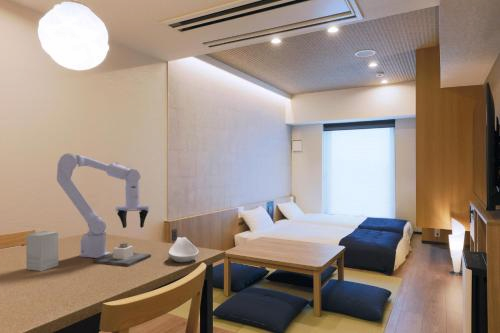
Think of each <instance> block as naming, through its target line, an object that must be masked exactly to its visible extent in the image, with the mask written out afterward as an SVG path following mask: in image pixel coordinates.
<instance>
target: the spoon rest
mask: <svg viewBox="0 0 500 333" xmlns="http://www.w3.org/2000/svg"><path fill="white" fill-rule="evenodd" d="M199 253H200V251H199V249H198V248H197V247H196V246H195V245H194V244H193V243H192V242H191V241H190V240H189V239H188V238H187V237H186V236H184V237H179V236H177V238H176V240H175V242H174V243H173V244H172V245H171V246H170V248H169V250H168V256H169V257H170V259H172V260H173V261H175V262H177V263H188V262H189V263H190V262H192V261H194V260H195V259H196V258H197V257H198V255H199Z"/></svg>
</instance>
